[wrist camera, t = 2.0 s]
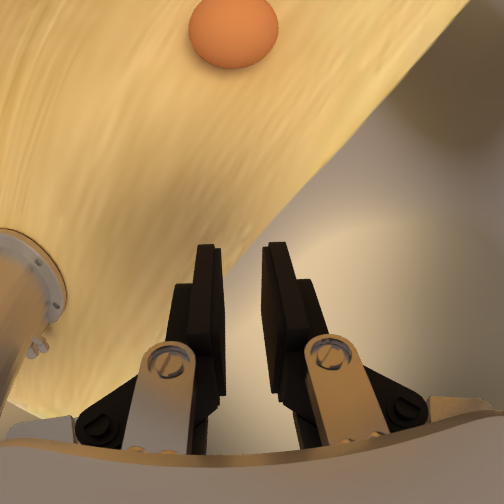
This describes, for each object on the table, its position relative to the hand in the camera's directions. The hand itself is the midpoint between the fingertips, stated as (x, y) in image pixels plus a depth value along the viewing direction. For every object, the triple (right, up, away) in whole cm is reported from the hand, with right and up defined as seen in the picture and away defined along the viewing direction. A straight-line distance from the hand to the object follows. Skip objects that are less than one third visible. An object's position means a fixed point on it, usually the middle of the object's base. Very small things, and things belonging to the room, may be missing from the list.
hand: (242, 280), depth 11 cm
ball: (-1, +15, +5) cm, 16 cm away
